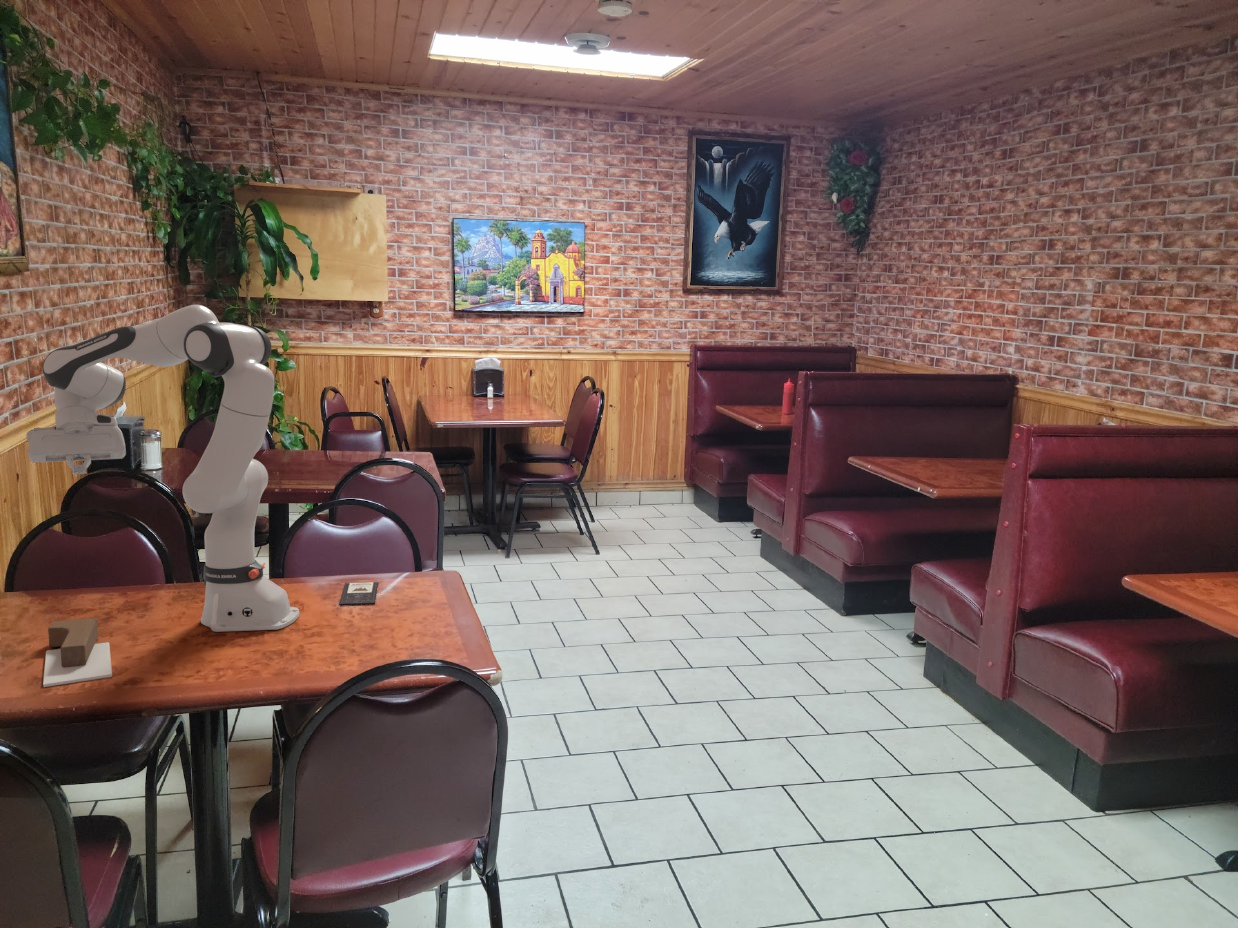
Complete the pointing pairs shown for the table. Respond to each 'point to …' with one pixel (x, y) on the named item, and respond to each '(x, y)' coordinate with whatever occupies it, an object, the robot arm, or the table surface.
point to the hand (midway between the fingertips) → (79, 472)
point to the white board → (77, 667)
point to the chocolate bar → (359, 593)
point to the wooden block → (74, 640)
